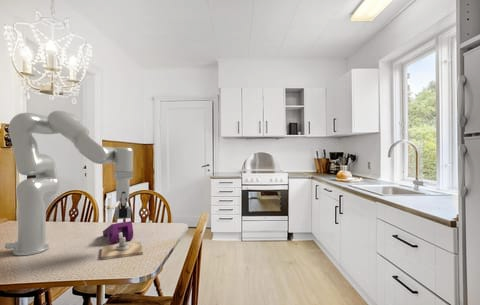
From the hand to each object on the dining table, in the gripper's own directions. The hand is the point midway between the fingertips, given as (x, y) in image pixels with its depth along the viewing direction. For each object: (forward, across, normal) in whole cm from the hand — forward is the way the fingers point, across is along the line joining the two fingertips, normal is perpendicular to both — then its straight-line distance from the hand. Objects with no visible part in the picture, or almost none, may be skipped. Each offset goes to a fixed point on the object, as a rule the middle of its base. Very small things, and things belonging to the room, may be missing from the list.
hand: (122, 215), depth 117 cm
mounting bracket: (+16, -21, -2) cm, 27 cm away
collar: (+1, 0, 0) cm, 1 cm away
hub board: (+16, 0, 0) cm, 16 cm away
